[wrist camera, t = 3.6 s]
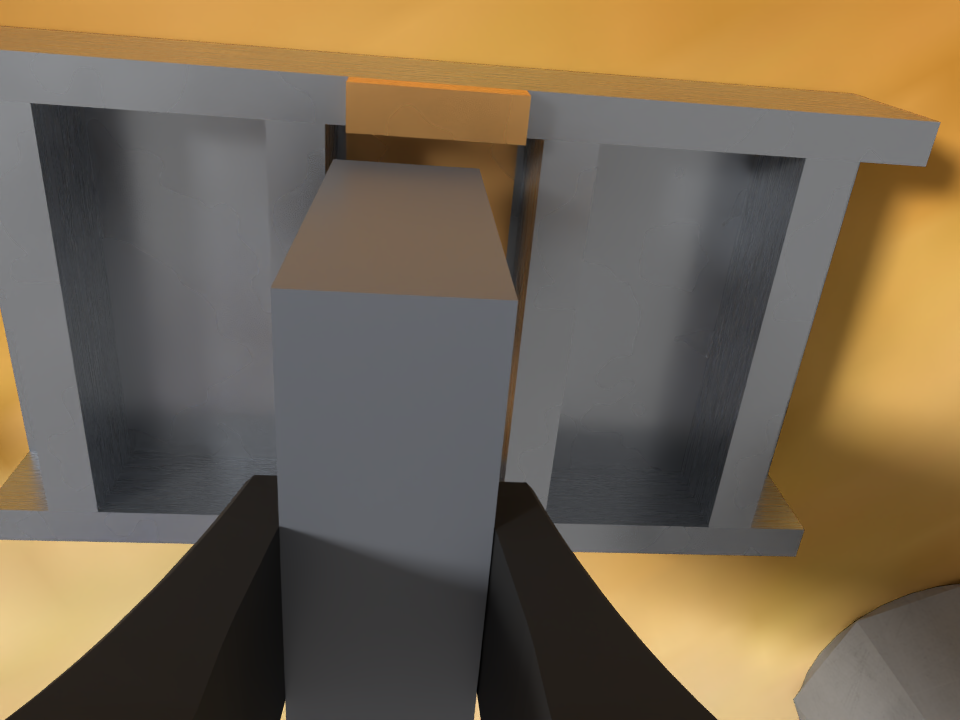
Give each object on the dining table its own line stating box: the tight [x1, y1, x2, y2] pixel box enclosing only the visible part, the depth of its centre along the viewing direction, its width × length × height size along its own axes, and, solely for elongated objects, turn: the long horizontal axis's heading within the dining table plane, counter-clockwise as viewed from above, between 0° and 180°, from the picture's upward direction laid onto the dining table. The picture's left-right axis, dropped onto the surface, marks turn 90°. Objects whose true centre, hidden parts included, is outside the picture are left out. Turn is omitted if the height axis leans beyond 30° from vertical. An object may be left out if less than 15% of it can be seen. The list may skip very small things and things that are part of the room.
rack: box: [0, 26, 940, 557], centre depth 17 cm, size 10×18×4 cm, turn 85°
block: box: [270, 159, 518, 720], centre depth 12 cm, size 7×2×6 cm, turn 175°
